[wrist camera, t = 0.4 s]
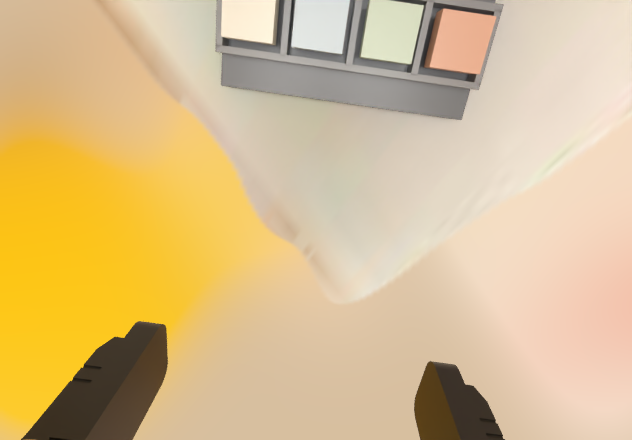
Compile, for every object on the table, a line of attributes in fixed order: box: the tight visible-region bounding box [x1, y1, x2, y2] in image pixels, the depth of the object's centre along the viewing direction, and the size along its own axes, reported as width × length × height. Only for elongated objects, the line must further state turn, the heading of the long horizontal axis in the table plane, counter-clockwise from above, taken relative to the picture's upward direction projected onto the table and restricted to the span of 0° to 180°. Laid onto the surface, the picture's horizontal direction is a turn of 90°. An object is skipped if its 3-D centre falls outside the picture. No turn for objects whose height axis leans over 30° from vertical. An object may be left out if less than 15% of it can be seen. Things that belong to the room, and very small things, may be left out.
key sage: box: [359, 0, 424, 65], centre depth 26 cm, size 4×4×2 cm
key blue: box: [291, 0, 350, 55], centre depth 26 cm, size 4×4×2 cm
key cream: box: [221, 0, 279, 46], centre depth 26 cm, size 4×4×2 cm
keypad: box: [216, 0, 503, 120], centre depth 28 cm, size 12×21×3 cm, turn 82°
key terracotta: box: [424, 8, 497, 74], centre depth 26 cm, size 4×4×2 cm
